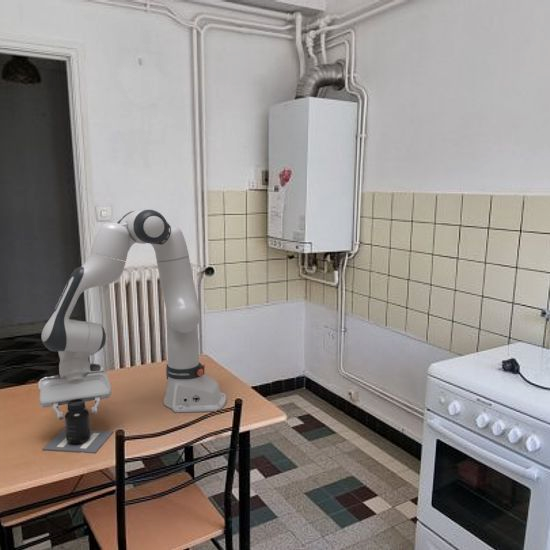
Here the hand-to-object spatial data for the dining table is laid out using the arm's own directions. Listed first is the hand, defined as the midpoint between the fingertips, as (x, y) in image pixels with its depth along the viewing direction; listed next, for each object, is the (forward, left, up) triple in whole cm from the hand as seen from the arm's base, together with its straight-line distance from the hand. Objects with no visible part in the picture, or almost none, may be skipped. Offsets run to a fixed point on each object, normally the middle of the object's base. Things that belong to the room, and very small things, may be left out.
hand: (77, 415), depth 140 cm
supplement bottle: (0, 0, -8) cm, 8 cm away
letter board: (0, 0, -8) cm, 8 cm away
